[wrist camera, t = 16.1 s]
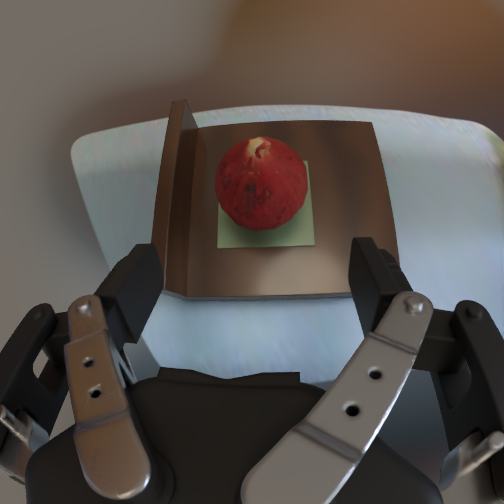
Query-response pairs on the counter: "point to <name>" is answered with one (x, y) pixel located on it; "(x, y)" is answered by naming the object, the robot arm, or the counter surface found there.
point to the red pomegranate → (261, 183)
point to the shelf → (282, 238)
